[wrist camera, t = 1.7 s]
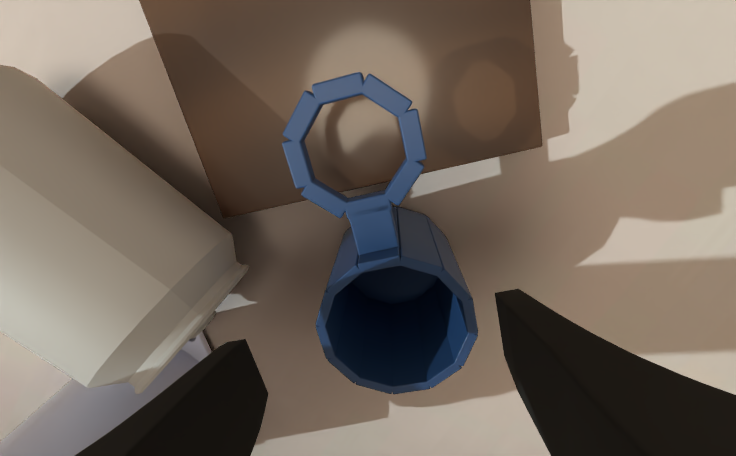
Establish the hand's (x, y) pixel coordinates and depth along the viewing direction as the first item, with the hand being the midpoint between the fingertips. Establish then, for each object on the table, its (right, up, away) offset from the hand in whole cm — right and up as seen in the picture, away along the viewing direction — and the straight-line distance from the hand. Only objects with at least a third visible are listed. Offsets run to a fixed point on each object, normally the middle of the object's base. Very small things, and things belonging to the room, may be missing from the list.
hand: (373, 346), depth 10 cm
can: (-16, +7, +3) cm, 18 cm away
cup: (0, +4, +7) cm, 8 cm away
